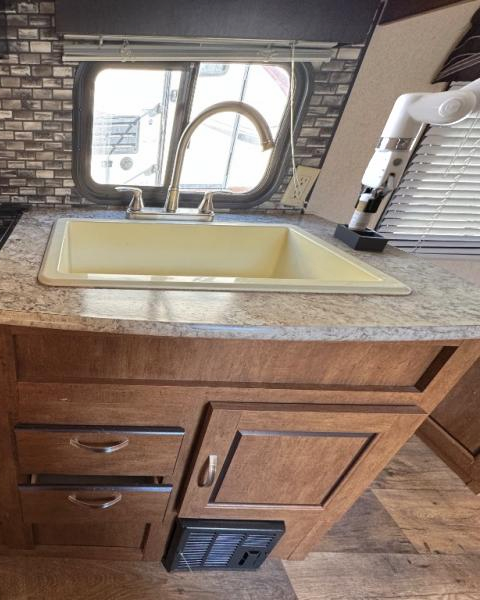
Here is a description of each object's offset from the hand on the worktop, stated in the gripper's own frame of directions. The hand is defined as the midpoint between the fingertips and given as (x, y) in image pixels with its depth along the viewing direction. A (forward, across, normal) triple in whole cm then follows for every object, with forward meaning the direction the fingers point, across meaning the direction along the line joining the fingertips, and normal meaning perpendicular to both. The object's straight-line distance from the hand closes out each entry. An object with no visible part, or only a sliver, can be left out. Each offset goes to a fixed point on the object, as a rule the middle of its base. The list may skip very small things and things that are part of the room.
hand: (364, 210), depth 97 cm
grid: (+10, -3, 0) cm, 10 cm away
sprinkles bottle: (+9, 0, 0) cm, 9 cm away
